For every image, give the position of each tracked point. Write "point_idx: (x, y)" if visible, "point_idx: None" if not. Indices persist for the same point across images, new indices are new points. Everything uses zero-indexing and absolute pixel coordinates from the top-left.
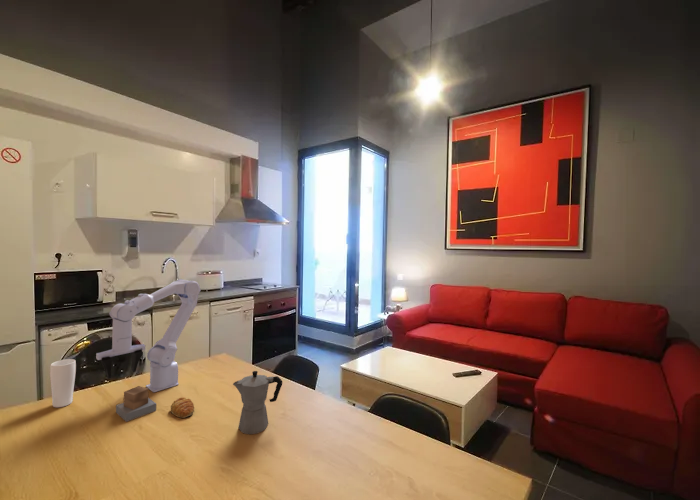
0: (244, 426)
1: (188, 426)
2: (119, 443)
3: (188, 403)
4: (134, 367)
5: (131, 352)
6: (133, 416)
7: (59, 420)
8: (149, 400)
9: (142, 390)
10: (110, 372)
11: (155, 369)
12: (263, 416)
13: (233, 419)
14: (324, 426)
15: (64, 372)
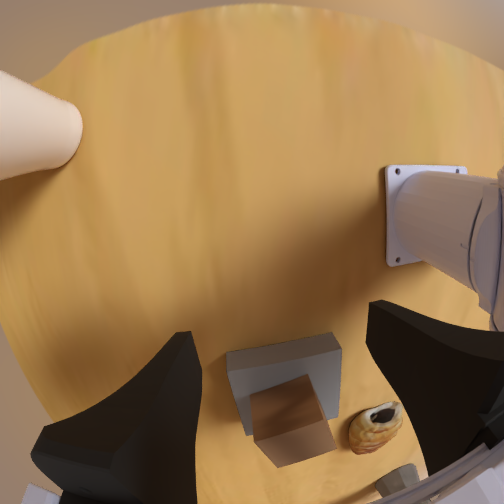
0: (379, 491)
1: (340, 465)
2: (218, 467)
3: (383, 444)
4: (383, 372)
5: (491, 375)
6: None
7: (62, 287)
8: (333, 393)
9: (315, 454)
10: (195, 413)
11: (465, 281)
12: None
13: (396, 461)
14: None
15: None
